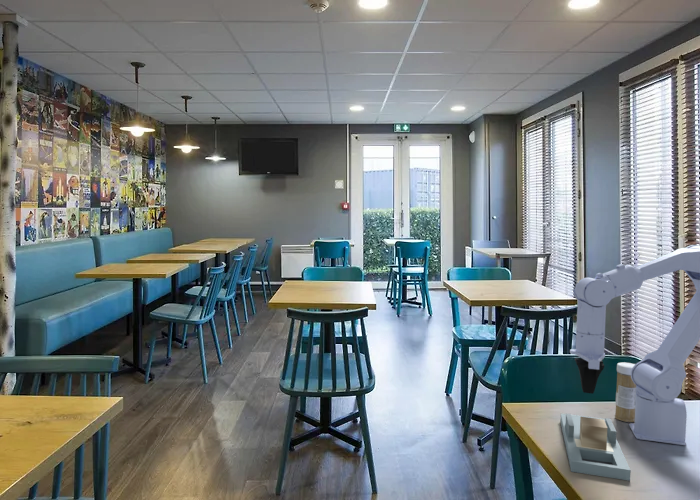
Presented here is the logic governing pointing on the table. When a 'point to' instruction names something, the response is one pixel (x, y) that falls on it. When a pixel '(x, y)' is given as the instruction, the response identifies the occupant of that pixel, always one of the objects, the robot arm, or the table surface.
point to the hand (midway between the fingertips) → (587, 392)
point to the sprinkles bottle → (625, 393)
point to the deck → (594, 451)
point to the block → (593, 433)
